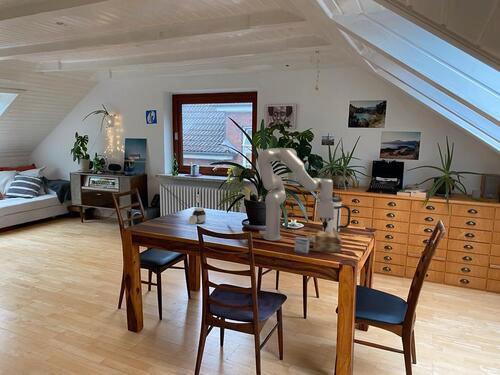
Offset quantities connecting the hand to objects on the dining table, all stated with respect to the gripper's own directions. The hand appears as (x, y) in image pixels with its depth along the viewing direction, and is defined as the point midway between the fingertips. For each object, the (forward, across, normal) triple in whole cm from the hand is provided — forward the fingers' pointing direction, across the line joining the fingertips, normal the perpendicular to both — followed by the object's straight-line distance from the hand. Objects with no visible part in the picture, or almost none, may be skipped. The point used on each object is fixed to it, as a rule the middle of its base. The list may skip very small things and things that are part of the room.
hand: (324, 228), depth 220 cm
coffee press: (+13, +6, +33) cm, 36 cm away
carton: (+12, -1, 0) cm, 12 cm away
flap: (+8, +10, 0) cm, 13 cm away
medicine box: (+13, -13, -12) cm, 22 cm away
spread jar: (+10, -95, +30) cm, 101 cm away
